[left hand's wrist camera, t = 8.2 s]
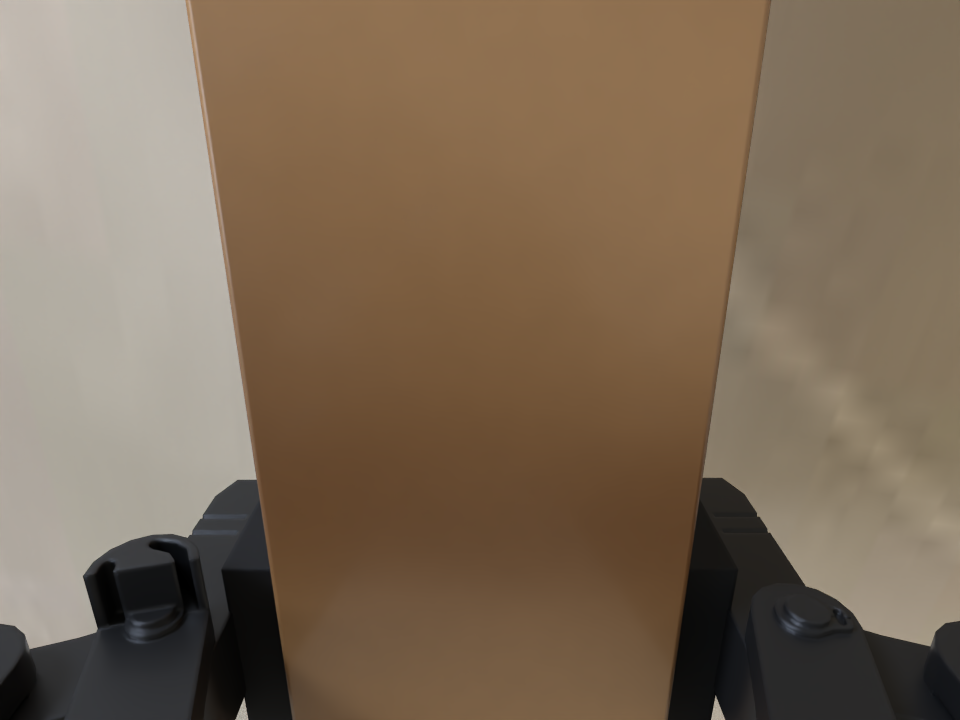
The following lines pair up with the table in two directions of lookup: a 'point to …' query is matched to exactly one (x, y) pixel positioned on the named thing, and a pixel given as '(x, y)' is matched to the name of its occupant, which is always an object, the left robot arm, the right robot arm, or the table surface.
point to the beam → (479, 333)
